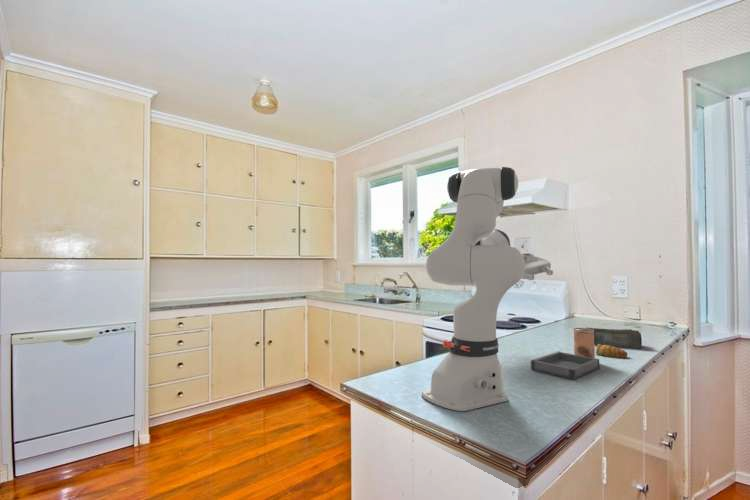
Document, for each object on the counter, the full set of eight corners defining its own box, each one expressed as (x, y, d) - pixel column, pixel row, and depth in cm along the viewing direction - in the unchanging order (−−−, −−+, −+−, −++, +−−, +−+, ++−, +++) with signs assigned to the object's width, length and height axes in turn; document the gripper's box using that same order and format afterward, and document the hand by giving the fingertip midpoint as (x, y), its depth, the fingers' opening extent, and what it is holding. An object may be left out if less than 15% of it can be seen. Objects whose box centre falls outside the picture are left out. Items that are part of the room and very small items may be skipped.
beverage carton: (585, 340, 156) (584, 325, 156) (639, 345, 146) (639, 329, 147) (585, 344, 149) (585, 328, 149) (642, 349, 140) (642, 332, 140)
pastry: (629, 356, 130) (628, 345, 130) (625, 360, 125) (624, 349, 125) (599, 352, 136) (598, 342, 136) (594, 355, 131) (594, 345, 132)
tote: (573, 380, 104) (573, 369, 104) (531, 369, 114) (530, 360, 114) (599, 368, 115) (599, 359, 115) (558, 360, 125) (558, 351, 125)
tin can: (590, 365, 119) (589, 331, 119) (571, 361, 123) (570, 329, 124) (598, 362, 122) (597, 329, 123) (579, 358, 127) (578, 327, 127)
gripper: (494, 261, 140) (521, 273, 128) (534, 252, 148) (562, 262, 136) (493, 276, 142) (520, 289, 130) (532, 266, 150) (561, 278, 138)
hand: (542, 275), depth 133 cm, fingers open, 8 cm apart
